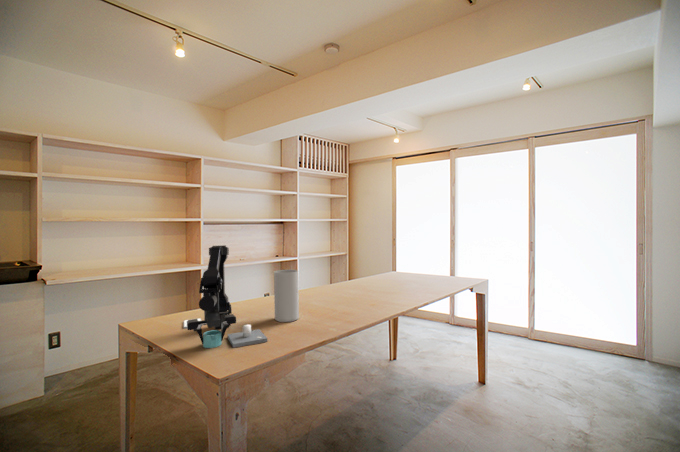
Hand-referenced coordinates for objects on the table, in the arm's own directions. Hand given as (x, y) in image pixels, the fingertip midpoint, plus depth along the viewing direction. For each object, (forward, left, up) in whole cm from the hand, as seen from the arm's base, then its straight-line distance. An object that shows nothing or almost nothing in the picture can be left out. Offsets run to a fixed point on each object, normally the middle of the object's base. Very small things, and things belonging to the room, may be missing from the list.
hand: (212, 342), depth 138 cm
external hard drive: (-36, -5, -2) cm, 36 cm away
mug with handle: (0, 0, -1) cm, 1 cm away
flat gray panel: (+1, +14, -1) cm, 14 cm away
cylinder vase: (-20, +39, -1) cm, 44 cm away
